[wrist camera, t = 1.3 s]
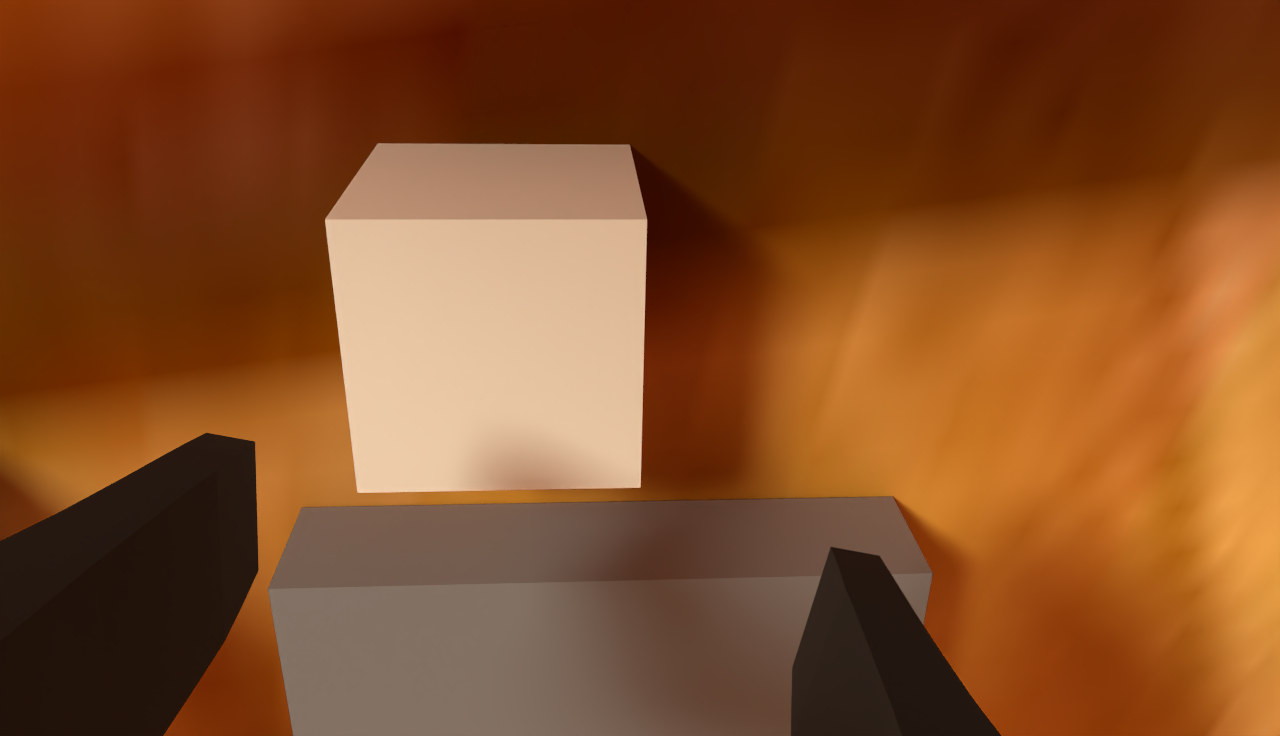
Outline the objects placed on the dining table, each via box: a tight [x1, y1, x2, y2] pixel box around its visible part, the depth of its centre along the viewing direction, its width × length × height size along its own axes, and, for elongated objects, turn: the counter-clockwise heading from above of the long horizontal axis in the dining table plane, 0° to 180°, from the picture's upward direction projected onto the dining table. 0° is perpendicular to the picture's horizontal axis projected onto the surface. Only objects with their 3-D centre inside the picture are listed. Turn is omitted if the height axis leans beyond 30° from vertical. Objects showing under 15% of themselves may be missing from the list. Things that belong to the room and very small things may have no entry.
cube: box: [325, 143, 647, 493], centre depth 19 cm, size 5×5×5 cm
